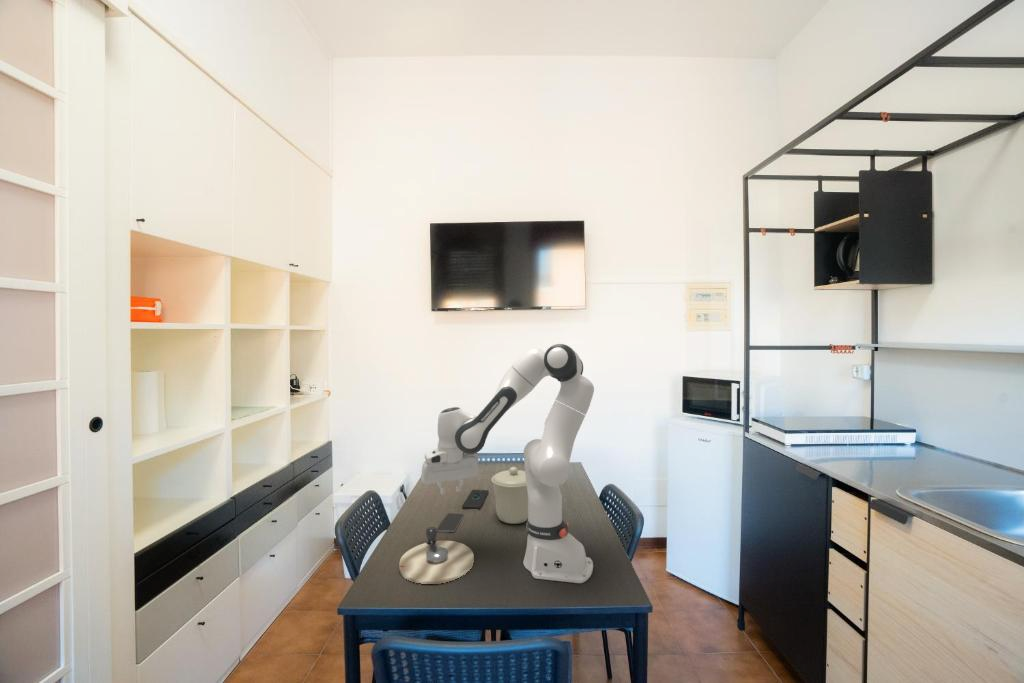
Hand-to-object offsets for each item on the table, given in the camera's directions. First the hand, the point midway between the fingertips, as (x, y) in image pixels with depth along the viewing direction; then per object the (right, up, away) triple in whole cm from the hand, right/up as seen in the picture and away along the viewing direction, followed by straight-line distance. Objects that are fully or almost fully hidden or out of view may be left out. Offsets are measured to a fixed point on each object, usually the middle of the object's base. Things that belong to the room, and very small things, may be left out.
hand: (450, 492), depth 147 cm
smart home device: (+5, -19, +41) cm, 46 cm away
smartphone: (-3, -20, +18) cm, 27 cm away
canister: (+22, -19, +22) cm, 37 cm away
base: (-3, -19, -11) cm, 22 cm away
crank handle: (-4, -17, -7) cm, 19 cm away
